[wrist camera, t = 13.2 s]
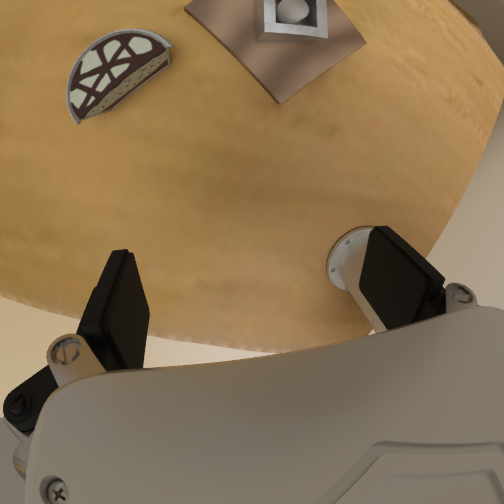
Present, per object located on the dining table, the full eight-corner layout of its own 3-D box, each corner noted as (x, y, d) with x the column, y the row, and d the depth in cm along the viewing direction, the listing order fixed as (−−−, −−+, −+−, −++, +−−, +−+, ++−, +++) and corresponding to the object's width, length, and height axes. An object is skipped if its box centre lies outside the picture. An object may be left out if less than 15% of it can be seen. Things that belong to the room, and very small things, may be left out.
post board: (361, 44, 29) (387, 39, 24) (277, 104, 33) (293, 105, 28) (279, -46, 21) (293, -66, 15) (184, 10, 24) (181, -7, 19)
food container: (154, 25, 25) (139, 1, 16) (180, 57, 28) (172, 43, 20) (79, 85, 27) (42, 85, 18) (103, 117, 30) (71, 126, 21)
